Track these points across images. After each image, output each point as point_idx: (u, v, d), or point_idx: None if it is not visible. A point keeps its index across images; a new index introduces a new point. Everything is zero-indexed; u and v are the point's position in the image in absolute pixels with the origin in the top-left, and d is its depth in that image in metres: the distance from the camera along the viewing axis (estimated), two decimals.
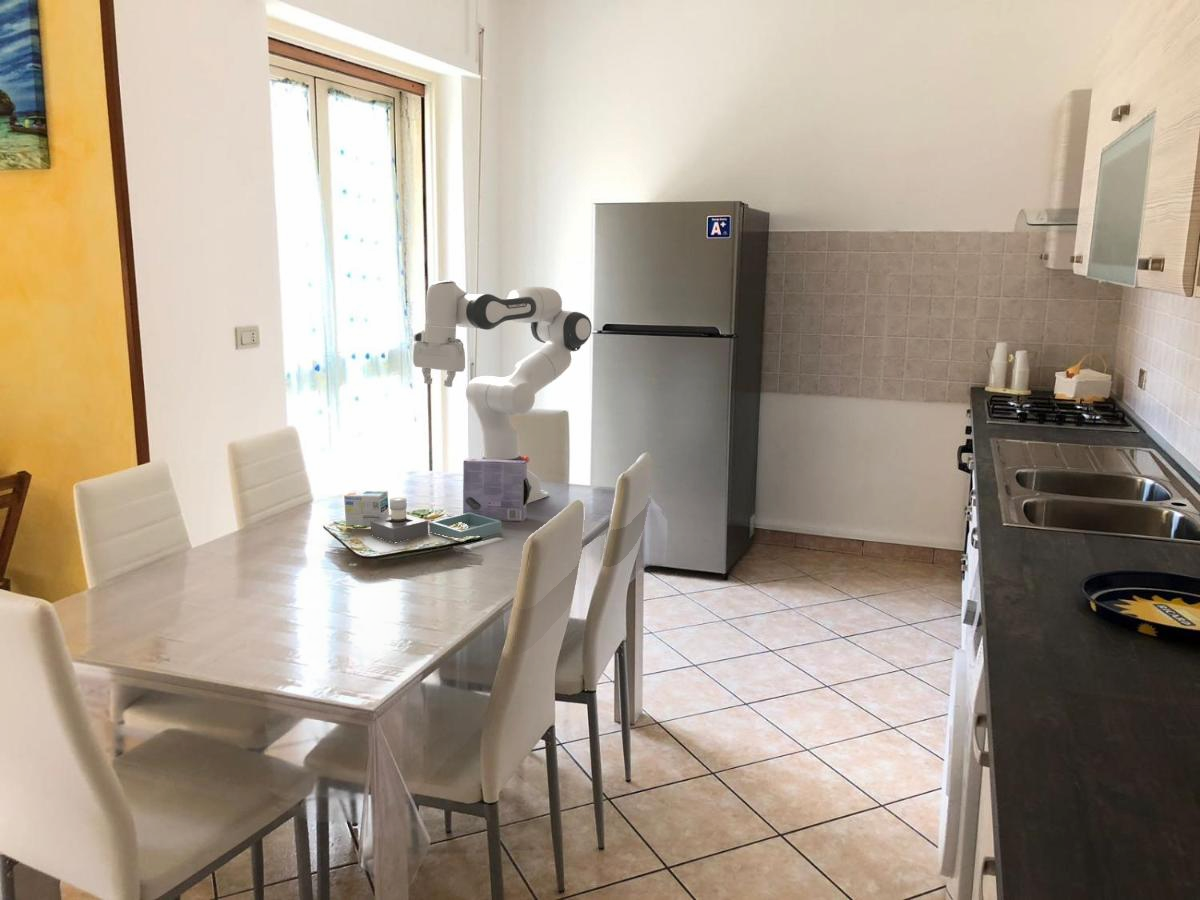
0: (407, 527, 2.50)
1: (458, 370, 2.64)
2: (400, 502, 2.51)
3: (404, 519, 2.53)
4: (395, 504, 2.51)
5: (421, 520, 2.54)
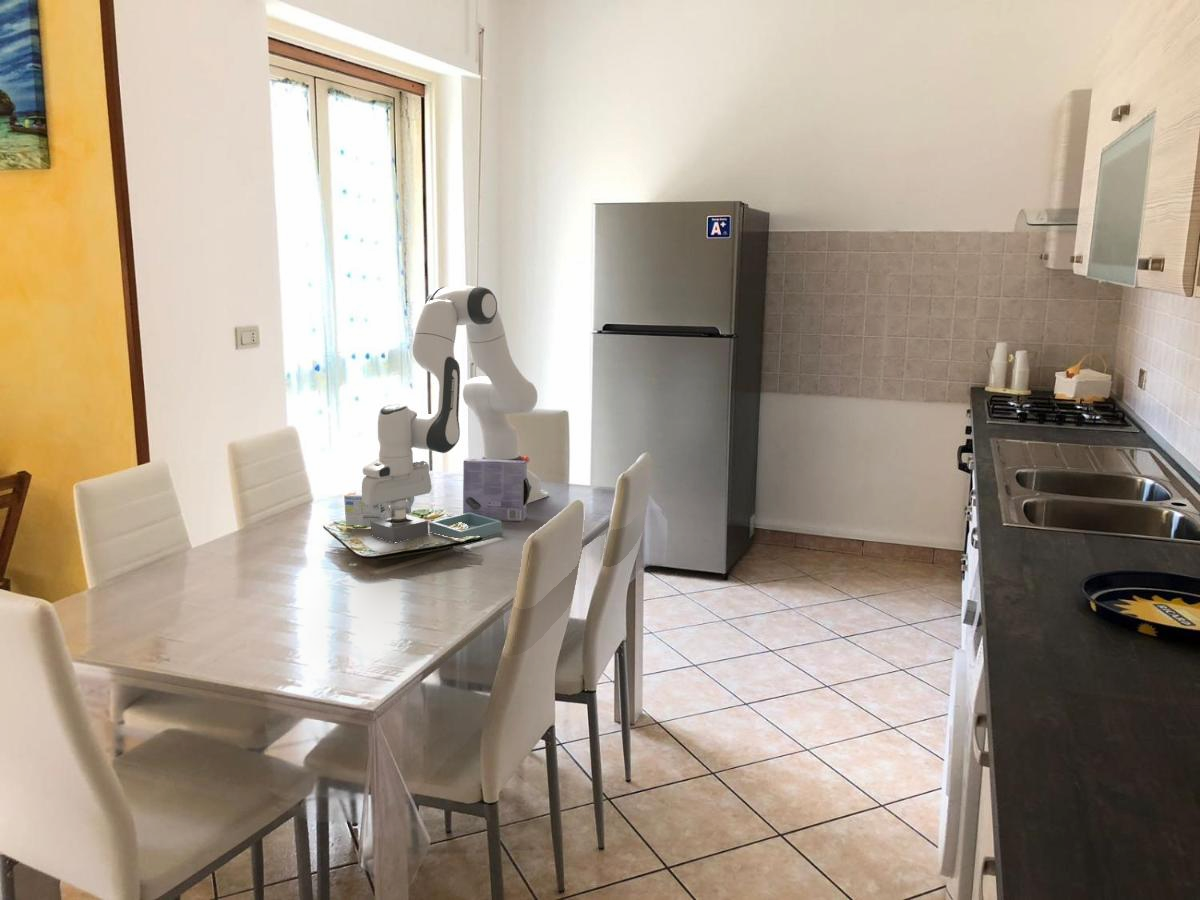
0: (407, 527, 2.50)
1: None
2: (400, 502, 2.51)
3: (404, 519, 2.53)
4: (395, 504, 2.51)
5: (421, 520, 2.54)
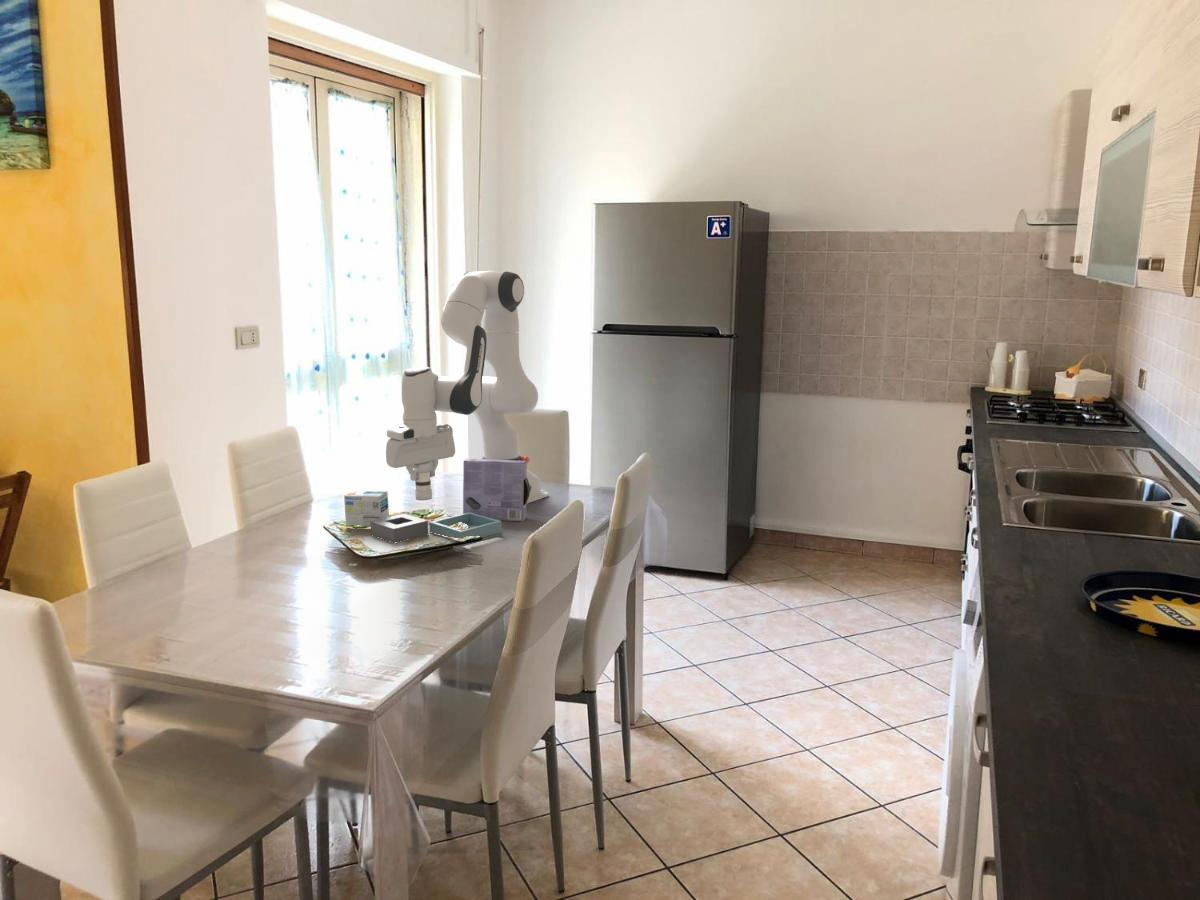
0: (407, 527, 2.50)
1: None
2: (424, 465, 2.51)
3: (428, 482, 2.52)
4: (419, 467, 2.51)
5: (421, 520, 2.54)
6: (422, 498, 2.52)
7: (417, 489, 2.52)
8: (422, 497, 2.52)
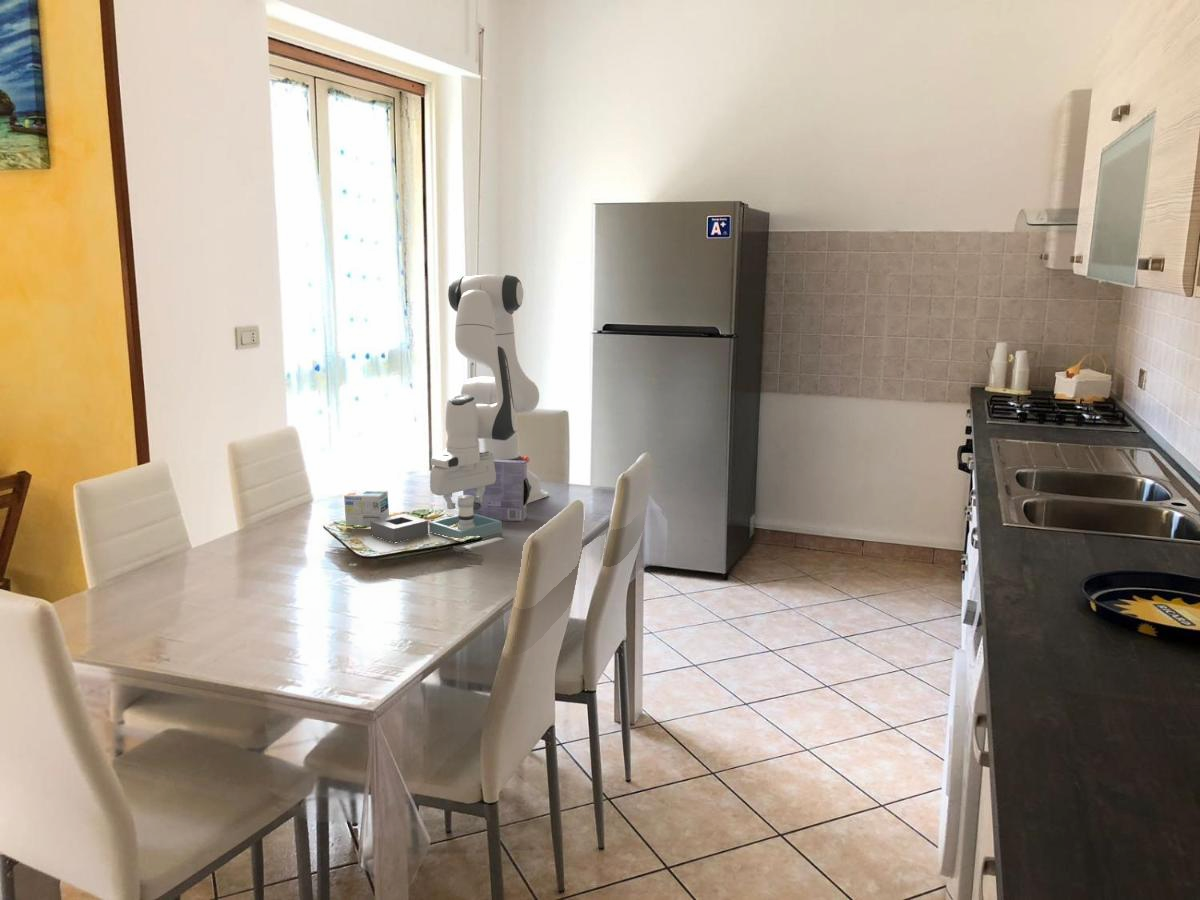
0: (407, 527, 2.50)
1: None
2: (468, 500, 2.53)
3: (471, 516, 2.55)
4: (463, 501, 2.53)
5: (421, 520, 2.54)
6: None
7: (460, 523, 2.55)
8: None
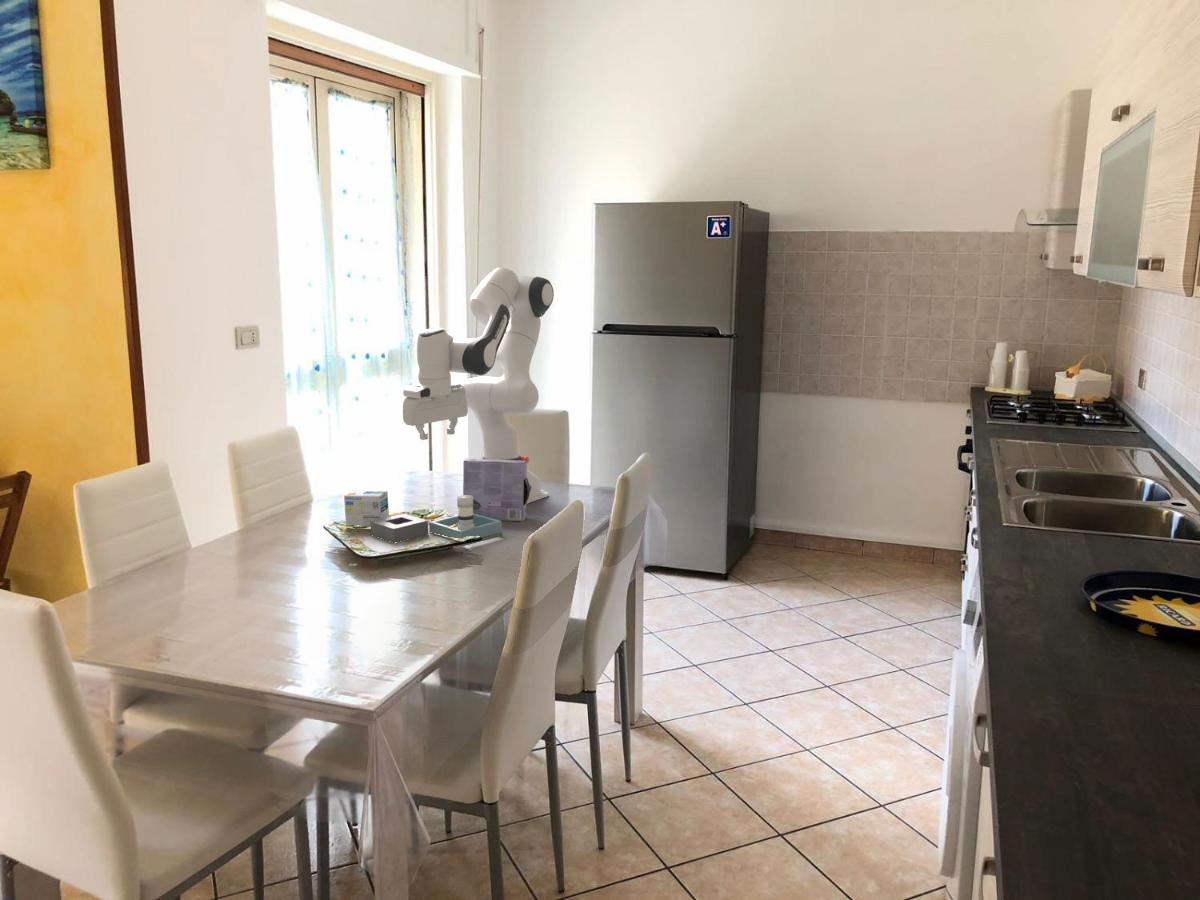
0: (407, 527, 2.50)
1: None
2: (467, 499, 2.54)
3: (471, 516, 2.55)
4: (463, 501, 2.53)
5: (421, 520, 2.54)
6: None
7: (460, 523, 2.55)
8: None
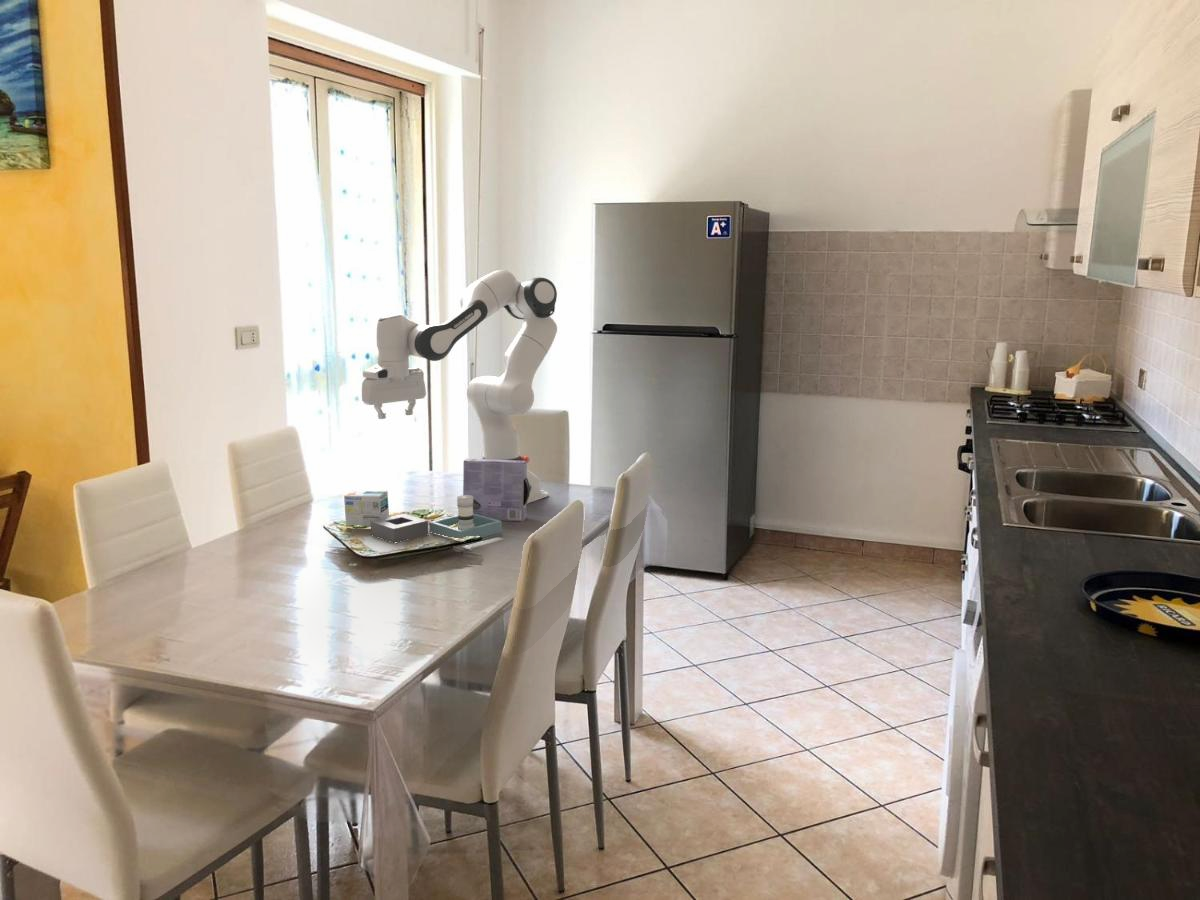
0: (407, 527, 2.50)
1: None
2: (467, 499, 2.54)
3: (471, 516, 2.55)
4: (463, 501, 2.53)
5: (421, 520, 2.54)
6: None
7: (460, 523, 2.55)
8: None
